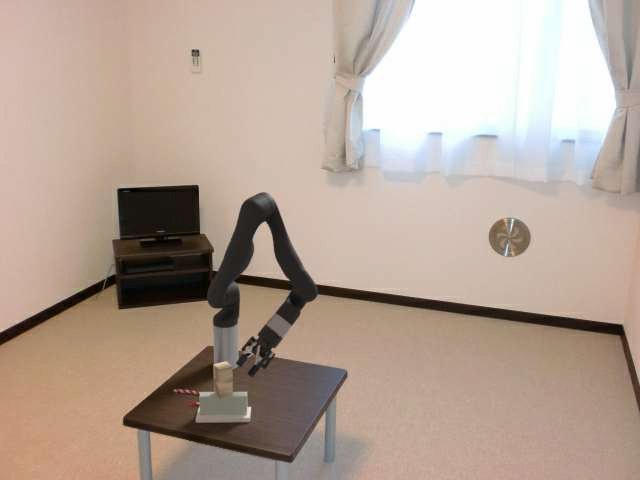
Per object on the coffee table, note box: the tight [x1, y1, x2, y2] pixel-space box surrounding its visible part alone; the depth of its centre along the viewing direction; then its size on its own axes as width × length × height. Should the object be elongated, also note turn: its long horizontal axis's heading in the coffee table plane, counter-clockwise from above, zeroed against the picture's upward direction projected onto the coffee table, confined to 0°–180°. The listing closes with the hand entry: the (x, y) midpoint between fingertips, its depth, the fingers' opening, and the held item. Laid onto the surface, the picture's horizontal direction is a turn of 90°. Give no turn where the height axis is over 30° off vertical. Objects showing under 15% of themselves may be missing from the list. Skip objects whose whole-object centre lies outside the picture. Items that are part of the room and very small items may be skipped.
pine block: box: [212, 361, 234, 399], centre depth 199 cm, size 4×4×10 cm
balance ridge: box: [195, 391, 252, 424], centre depth 201 cm, size 7×17×8 cm, turn 92°
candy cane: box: [173, 388, 201, 407], centre depth 214 cm, size 8×1×15 cm
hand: (243, 370), depth 202 cm, fingers open, 8 cm apart
